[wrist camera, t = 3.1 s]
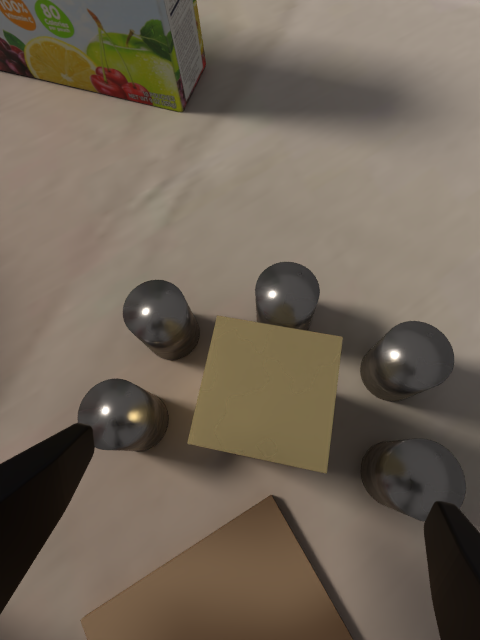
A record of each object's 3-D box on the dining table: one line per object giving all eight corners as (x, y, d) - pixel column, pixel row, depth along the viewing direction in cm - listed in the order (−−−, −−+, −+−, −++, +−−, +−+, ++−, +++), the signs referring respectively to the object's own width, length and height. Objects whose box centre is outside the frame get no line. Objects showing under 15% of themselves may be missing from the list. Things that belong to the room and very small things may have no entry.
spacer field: (422, 514, 18) (465, 530, 14) (105, 444, 20) (67, 441, 16) (430, 318, 21) (466, 288, 17) (156, 274, 23) (135, 239, 19)
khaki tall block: (298, 465, 19) (326, 473, 10) (221, 448, 19) (187, 443, 11) (309, 386, 20) (342, 336, 12) (236, 372, 21) (217, 315, 12)
